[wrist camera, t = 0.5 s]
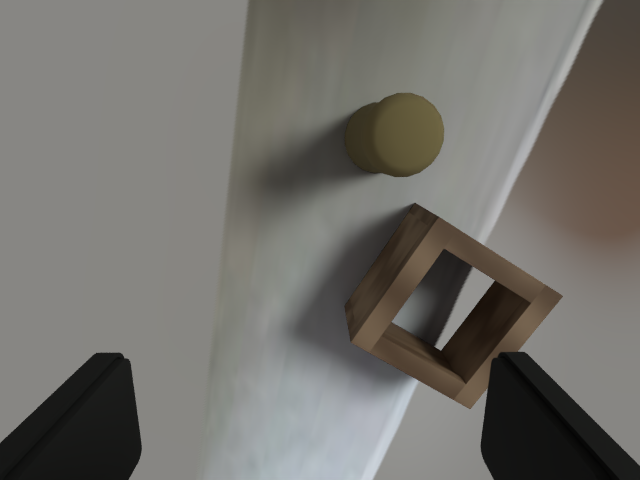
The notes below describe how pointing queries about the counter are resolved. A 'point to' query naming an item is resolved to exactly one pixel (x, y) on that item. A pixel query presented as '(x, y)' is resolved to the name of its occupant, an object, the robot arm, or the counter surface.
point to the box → (474, 333)
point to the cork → (395, 135)
